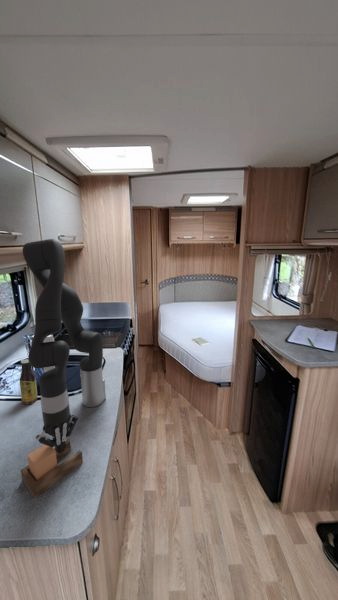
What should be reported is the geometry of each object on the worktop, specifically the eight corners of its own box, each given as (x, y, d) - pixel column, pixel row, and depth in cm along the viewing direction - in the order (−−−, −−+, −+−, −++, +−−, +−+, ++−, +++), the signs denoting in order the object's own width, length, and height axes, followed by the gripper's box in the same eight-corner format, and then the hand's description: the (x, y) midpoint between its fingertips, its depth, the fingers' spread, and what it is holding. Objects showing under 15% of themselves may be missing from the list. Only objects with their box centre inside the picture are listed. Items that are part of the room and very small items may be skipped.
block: (50, 465, 79) (47, 442, 77) (58, 474, 76) (55, 450, 74) (31, 479, 75) (27, 455, 73) (38, 489, 72) (34, 464, 70)
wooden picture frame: (69, 448, 86) (68, 439, 85) (82, 461, 81) (81, 451, 80) (22, 480, 74) (20, 470, 74) (35, 498, 69) (33, 487, 68)
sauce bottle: (18, 404, 109) (12, 363, 104) (29, 395, 115) (23, 356, 110) (31, 406, 108) (26, 365, 103) (41, 397, 114) (36, 358, 109)
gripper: (69, 389, 82) (73, 433, 86) (26, 410, 71) (34, 458, 76) (82, 398, 77) (85, 444, 81) (38, 421, 67) (45, 472, 71)
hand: (60, 451), depth 78 cm, fingers closed
